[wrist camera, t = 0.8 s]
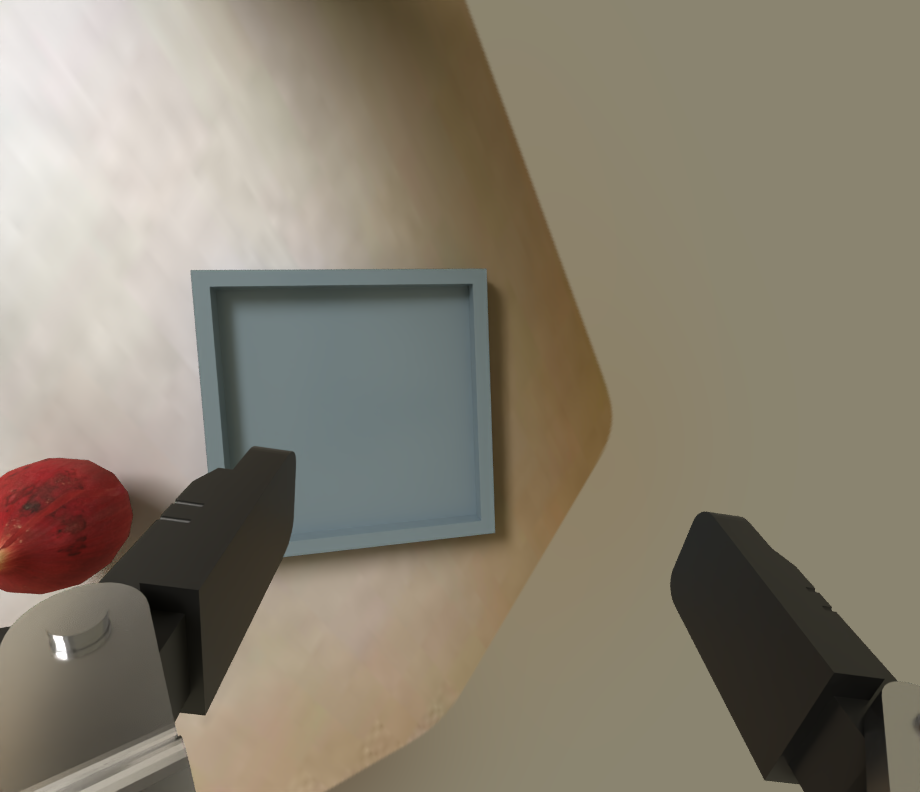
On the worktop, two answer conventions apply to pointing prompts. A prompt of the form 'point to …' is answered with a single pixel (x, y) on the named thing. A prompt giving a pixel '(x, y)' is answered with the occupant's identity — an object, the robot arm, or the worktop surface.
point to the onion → (59, 524)
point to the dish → (354, 396)
